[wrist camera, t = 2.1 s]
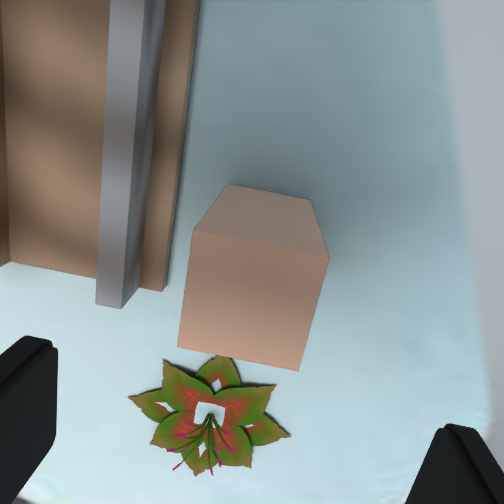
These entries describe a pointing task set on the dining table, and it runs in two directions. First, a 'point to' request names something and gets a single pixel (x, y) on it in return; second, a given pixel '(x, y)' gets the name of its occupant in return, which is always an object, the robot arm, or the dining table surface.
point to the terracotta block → (253, 278)
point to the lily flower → (216, 440)
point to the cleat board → (93, 136)
